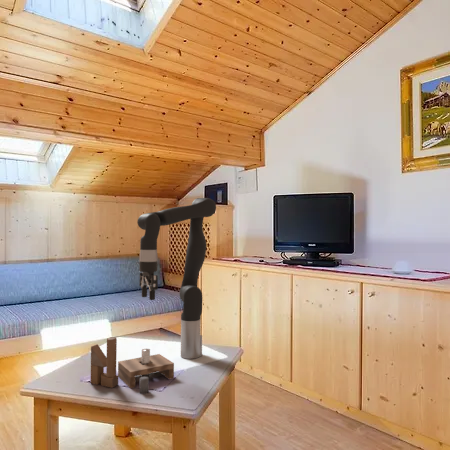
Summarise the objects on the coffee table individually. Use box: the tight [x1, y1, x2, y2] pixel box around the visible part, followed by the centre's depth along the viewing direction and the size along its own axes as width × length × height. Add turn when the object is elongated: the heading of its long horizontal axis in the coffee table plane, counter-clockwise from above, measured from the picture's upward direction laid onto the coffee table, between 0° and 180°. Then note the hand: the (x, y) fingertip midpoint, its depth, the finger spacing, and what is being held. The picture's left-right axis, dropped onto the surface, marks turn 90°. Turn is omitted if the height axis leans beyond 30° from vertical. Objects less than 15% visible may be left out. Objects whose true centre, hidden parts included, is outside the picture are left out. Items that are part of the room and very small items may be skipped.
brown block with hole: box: [117, 353, 175, 389], centre depth 156 cm, size 18×14×6 cm
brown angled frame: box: [90, 336, 119, 389], centre depth 149 cm, size 4×11×18 cm, turn 65°
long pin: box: [140, 348, 151, 379], centre depth 156 cm, size 3×3×11 cm
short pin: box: [139, 377, 150, 395], centre depth 141 cm, size 3×3×5 cm
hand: (148, 298), depth 165 cm, fingers open, 8 cm apart
